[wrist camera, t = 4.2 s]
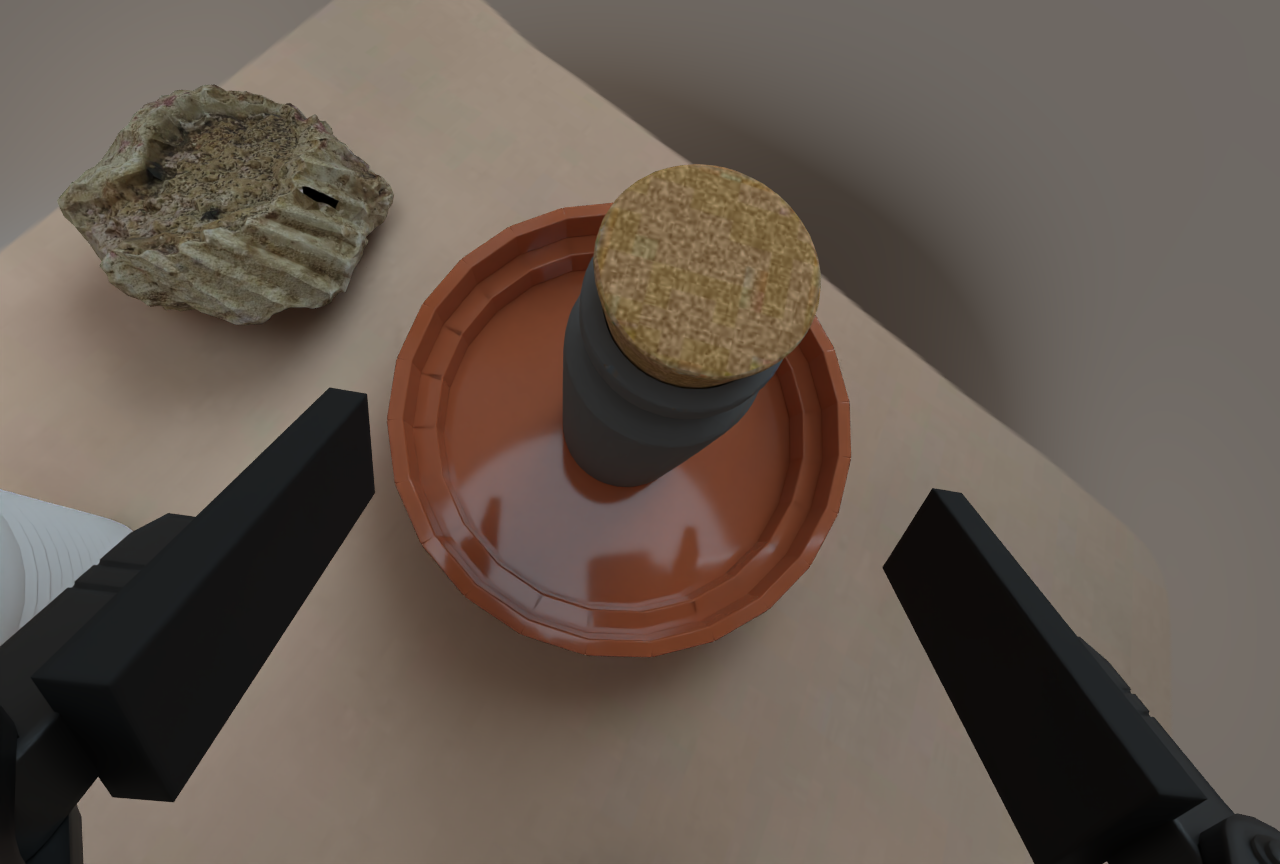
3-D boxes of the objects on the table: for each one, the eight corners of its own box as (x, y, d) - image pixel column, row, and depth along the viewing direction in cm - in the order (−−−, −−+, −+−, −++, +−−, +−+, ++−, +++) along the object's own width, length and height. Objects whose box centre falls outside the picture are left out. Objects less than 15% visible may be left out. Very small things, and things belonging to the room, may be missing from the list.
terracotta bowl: (877, 383, 28) (920, 361, 25) (685, 729, 23) (706, 760, 20) (572, 177, 28) (574, 126, 25) (318, 481, 23) (276, 470, 20)
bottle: (606, 344, 26) (662, 88, 11) (707, 409, 26) (893, 238, 11) (537, 443, 24) (501, 296, 10) (645, 512, 25) (767, 466, 10)
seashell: (429, 270, 29) (308, 75, 26) (446, 242, 23) (288, -20, 19) (214, 377, 25) (40, 165, 22) (163, 379, 19) (-91, 83, 16)
